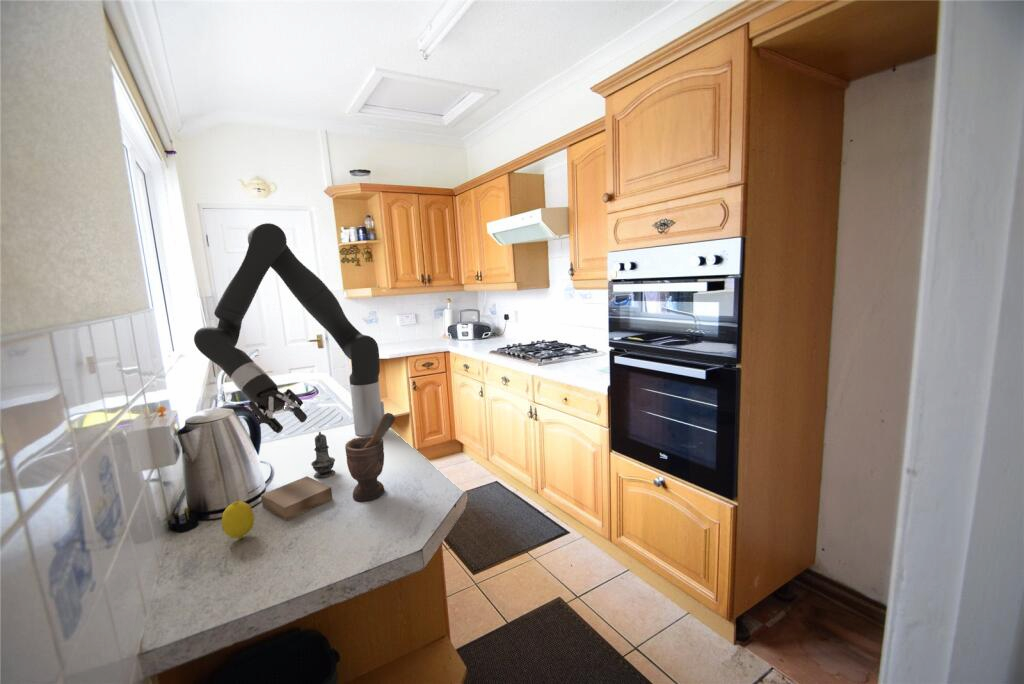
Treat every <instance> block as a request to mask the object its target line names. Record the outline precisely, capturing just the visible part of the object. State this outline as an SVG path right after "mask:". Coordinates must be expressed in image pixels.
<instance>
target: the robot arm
mask: <svg viewBox="0 0 1024 684" xmlns="http://www.w3.org/2000/svg"><path fill="white" fill-rule="evenodd" d="M247 235H248V236H247V243H248V246H247V250H246V254H245V255H244V258H243V261H242V262H241V265H240V266H239V267H238V270H237V271H236V273H235V275H234V276H233V277H232V279H231V280H230V282H229V284H228V285H227V287H226V289H225V290H224V292H223V294H222V295H221V297H220V300H219V301H218V303H217V305H216V307H215V310H214V316H215V318H217V319H218V324H217V327H216V326H203V327H201V328H199V329H198V330H197V331H195V333H194V335H193V336H194V337H193V342H194V345H195V348H197V350H198V351H199V352H200V353H201V355H204V356H205V357H206V358H207V359H208V360H210V361H211V362H212V363H214V364H215V365H217V366H218V367H220V368H221V369H222V371H223V372H224V373H225V374H226V376H228V377H229V378H230V379H231V381H232V382H233V383H234V385H235V387H237V389H238V390H239V391H240V392H241V393H242V394H243V395H244V396H245V398H246V399H247V400H248V401H249V403H248V404H247V405H246V407H245V408H247V409H249V410H251V411H252V412H253V413H254V414H255V416H256V417H257V419H258V422H259V426H260V425H262V424H265V425H268V427H269V428H270V429H271V430H272V431H273V432H275V433H276V434H279V433H281V432H282V431H283V430H284V426H283V425H282V424H281V423H280V422H279V421H278V420H277V419H276V417H274V415H273V414H274V413H275V412H279V411H285V412H287V411H288V412H290V413H293V415H294V416H295V417H296V419H297V420H298V421H299V422H300V423H301V424H302V423H305V422H306V420H307V419H308V415H307V414H306V413H305V411H303V410H302V408H301V407H302V406H303V404H304V401H302V399H300V397H299V396H298V395H297V394H295V392H294V391H292V390H291V389H290V388H288V389H286V391H284V392H281V391H280V390H279V389H278V385H277V383H276V382H275V381H274V380H273V379H272V378H271V377H270V376H269V375H268V374H267V372H265V370H264V369H263V368H261V367H260V366H259V365H258V364H257V363H256V362H255V361H254V360H253V359H252V358H251V357H250V356H249V355H248V353H247V352H245V351H244V350H242V349H239V348H238V347H236V346H237V344H238V342H239V338H240V333H241V329H242V323H243V319H244V317H245V316H246V315H247V312H248V311H249V308H250V306H251V304H252V302H253V300H254V298H255V296H256V294H257V292H258V290H259V287H260V285H261V283H262V281H263V279H264V278H265V276H266V274H267V273H268V271H269V269H270V268H271V269H272V270H273V271H274V272H275V273H276V274H277V275H278V276H279V277H280V278H281V281H283V282H284V285H285V286H286V287H287V289H288V290H289V291H290V293H291V294H292V295H293V296H294V297H295V298H296V300H297V301H298V302H299V303H300V304H301V306H302V307H303V308H304V309H305V310H306V311H307V313H308V314H310V316H312V318H313V319H315V321H316V322H317V323H319V325H320V326H321V327H323V328H324V329H325V330H326V331H327V332H328V333H329V334H330V336H331V337H332V338H333V340H334V341H335V342H336V343H337V345H338V346H339V348H340V350H341V351H342V352H343V353H344V355H345V356H346V358H348V359H349V360H351V373H350V375H349V377H348V378H349V387H350V396H351V407H352V415H353V423H354V424H353V426H354V433H355V436H360V437H366V436H373V435H374V433H375V431H376V429H377V427H378V425H379V423H380V421H381V419H382V417H383V416H384V415H385V414H386V413H385V406H384V401H382V399H381V390H380V389H381V388H380V379H379V376H380V372H381V365H380V363H381V362H380V349H379V345H378V343H377V340H375V338H373V337H372V336H370V335H366V334H362V332H360V331H359V330H358V329H357V328H356V327H355V326H354V325H353V324H352V323H351V322H350V321H349V319H348V318H347V316H346V314H345V313H344V310H343V308H342V306H341V304H340V302H339V301H338V299H337V297H336V296H335V295H334V293H333V292H332V291H331V289H329V287H328V286H327V285H326V284H325V282H324V281H322V280H321V278H319V276H317V275H316V274H315V273H314V272H313V271H311V270H310V269H309V268H308V267H307V266H306V265H304V264H303V263H302V262H301V261H300V260H299V259H298V258H297V257H296V255H295V253H293V251H292V249H290V247H289V246H288V245H287V243H288V242H287V237H286V236H287V235H286V234H285V232H284V230H283V229H282V228H281V227H280V226H279V225H276V224H275V223H269V222H268V223H267V222H265V223H260V224H259V223H258V224H257V225H255V226H254V227H252V228H251V229H250V231H249V232H248V234H247Z"/></svg>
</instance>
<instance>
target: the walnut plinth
mask: <svg viewBox="0 0 1024 684" xmlns="http://www.w3.org/2000/svg"><path fill="white" fill-rule="evenodd" d="M260 498H261V506H262V507H263V508H264V509H265V510H267V511H269V512H271V513H272V514H274V515H276V516H277V517H279V518H281V519H283V521H289V520H291V519H293V518H295V517H297V516H300V515H302V514H303V513H306V512H308V511H310V510H312V509H314V508H317V507H318V506H321V505H323V504H325V503H327V502H330V501H331V500H333V498H334V497H333V490H332V486H330V485H327V484H325V483H324V482H320V481H318V480H316V479H315V478H312V477H309V476H304V477H301V478H299V479H296V480H294V481H292V482H289V483H287V484H283V485H281V486H279V487H277V488H274V489H272V490H270V491H267V492H264V493H261V494H260Z"/></svg>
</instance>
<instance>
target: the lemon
mask: <svg viewBox="0 0 1024 684" xmlns="http://www.w3.org/2000/svg"><path fill="white" fill-rule="evenodd" d="M254 523H255V514H254V510H253V509H252V507H251V506H250V504H248V503H247V502H244V501H237V500H236V501H233V502H232V503H231V504H229V505H227V507H226V508H225V510H224V511H223V513H222V517H221V529H222V531H223V532H224V533H225V535H226V536H228V537H229V538H232V539H233V538H234V539H242V538H244V536H246V535H247V534H248V533H249V532H250V531H251V530H252V529H253V526H254Z"/></svg>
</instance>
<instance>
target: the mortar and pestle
mask: <svg viewBox="0 0 1024 684" xmlns="http://www.w3.org/2000/svg"><path fill="white" fill-rule="evenodd" d="M384 414H385V415H384V416H383V417H382V419H381V421H380V423H379V425H378V427H377V429H376V431H375V433H374V435H368V436H360V437H355V438H352V439H350V440H348V441H347V442H346V443H345V445H344V446H345V449H344V450H345V455H346V464H347V469H348V471H349V473H350V474H349V475H350V476H351V478H353V480H355V481H356V482H357V484H356V486H355V487H353V488H354V489H353V491H352V499H353V500H354V501H357V502H365V501H366V502H367V501H368V502H369V501H372V500H374V499H376V498H379V497H380V496H383V494H384V493H385V486H384V484H383V483H382V482H380V481H379V480H378V478H379V476H380V475H381V474H382V472H383V468H384V463H385V452H384V450H385V449H384V448H385V445H384V439H383V438H384V436H385V435H386V433H387V432H388V431H389V429H390V428H392V426H393V425H394V422H395V420H396V416H395V415H394V414H392V413H390V412H386V413H384Z"/></svg>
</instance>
